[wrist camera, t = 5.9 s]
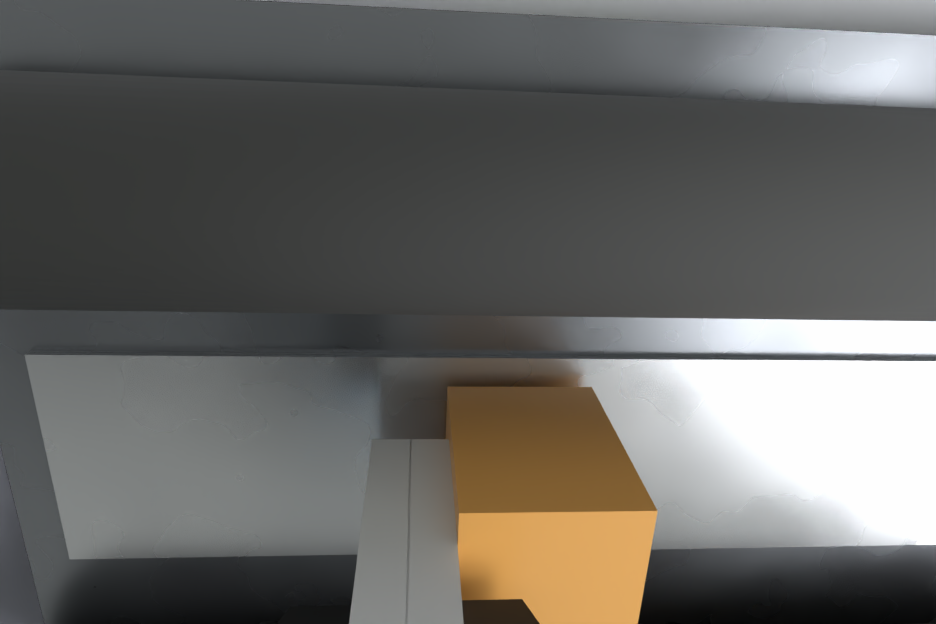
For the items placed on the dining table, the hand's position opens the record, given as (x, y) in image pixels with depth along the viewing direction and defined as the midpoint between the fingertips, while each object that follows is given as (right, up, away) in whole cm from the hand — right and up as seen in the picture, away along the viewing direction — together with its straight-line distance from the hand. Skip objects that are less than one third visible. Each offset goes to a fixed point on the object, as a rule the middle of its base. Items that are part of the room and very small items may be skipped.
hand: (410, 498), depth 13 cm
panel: (+4, +1, +4) cm, 6 cm away
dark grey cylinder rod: (+5, +6, 0) cm, 8 cm away
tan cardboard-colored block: (+2, 0, +1) cm, 2 cm away
